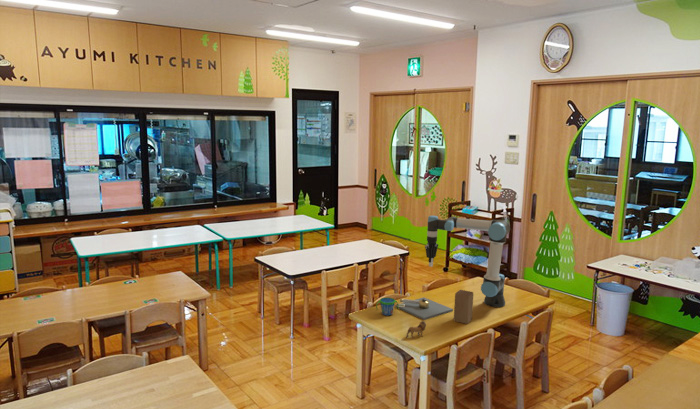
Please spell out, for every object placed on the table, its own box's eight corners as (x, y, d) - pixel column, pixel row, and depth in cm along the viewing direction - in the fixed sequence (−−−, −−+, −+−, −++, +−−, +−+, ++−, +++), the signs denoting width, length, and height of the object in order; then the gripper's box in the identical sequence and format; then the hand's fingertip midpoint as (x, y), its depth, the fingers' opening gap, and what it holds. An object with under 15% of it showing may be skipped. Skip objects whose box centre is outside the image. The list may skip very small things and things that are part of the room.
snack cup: (376, 316, 338) (376, 302, 337) (375, 310, 349) (376, 297, 347) (398, 317, 338) (399, 302, 337) (397, 311, 349) (398, 297, 347)
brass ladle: (429, 305, 356) (429, 298, 355) (428, 308, 349) (428, 301, 348) (400, 302, 362) (400, 294, 361) (398, 305, 355) (398, 298, 354)
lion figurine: (422, 332, 314) (423, 319, 313) (427, 335, 309) (428, 322, 308) (403, 337, 307) (404, 323, 305) (408, 340, 302) (409, 326, 301)
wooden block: (467, 324, 328) (469, 296, 324) (453, 321, 333) (454, 293, 330) (472, 319, 336) (474, 291, 333) (458, 316, 341) (459, 289, 338)
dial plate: (452, 311, 351) (452, 308, 351) (422, 320, 333) (422, 318, 333) (422, 298, 375) (422, 296, 375) (393, 306, 357) (393, 304, 357)
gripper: (434, 234, 379) (433, 263, 382) (422, 236, 371) (421, 266, 375) (441, 236, 373) (440, 266, 377) (429, 238, 365) (428, 268, 369)
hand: (430, 266), depth 376 cm, fingers closed
